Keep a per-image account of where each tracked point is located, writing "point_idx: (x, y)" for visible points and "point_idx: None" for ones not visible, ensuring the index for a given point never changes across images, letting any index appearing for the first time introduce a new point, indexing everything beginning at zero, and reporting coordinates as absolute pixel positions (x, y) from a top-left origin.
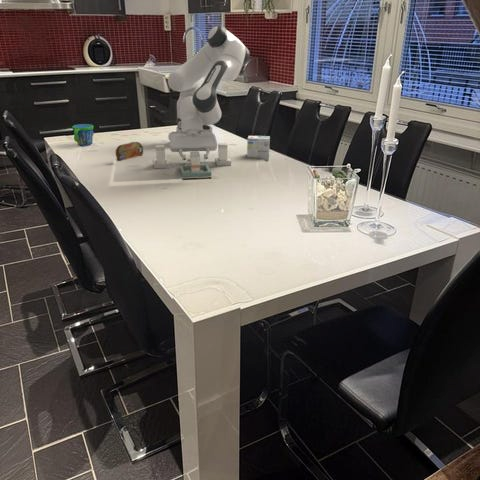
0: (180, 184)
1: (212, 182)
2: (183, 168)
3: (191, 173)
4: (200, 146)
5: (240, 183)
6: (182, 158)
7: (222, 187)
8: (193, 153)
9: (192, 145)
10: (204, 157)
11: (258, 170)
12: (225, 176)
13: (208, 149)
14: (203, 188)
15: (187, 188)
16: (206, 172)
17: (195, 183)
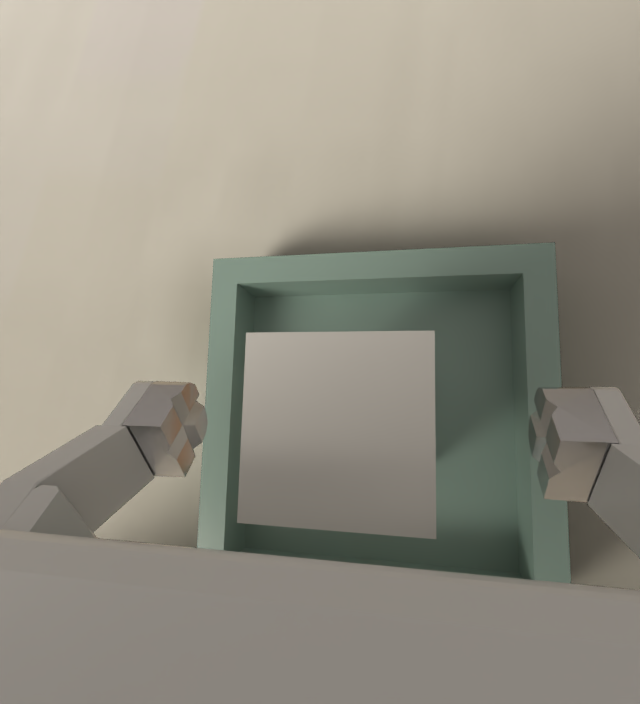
0: (565, 138)
1: (253, 178)
2: (530, 467)
3: (439, 252)
4: (125, 554)
5: (53, 138)
6: (611, 388)
7: (203, 46)
8: (377, 358)
9: (355, 625)
10: (192, 405)
11: None
12: (109, 342)
13: (12, 498)
14: (357, 22)
15: (501, 21)
16: (265, 258)
17: (409, 160)
